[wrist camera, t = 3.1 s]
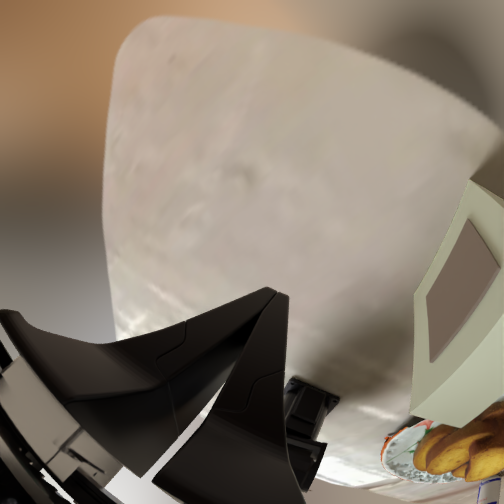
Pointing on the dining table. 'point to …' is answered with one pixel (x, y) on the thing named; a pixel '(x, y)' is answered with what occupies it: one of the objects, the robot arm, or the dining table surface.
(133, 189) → the dining table surface
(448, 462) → the food on plate
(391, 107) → the dining table surface
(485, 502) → the beverage can
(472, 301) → the sage block
